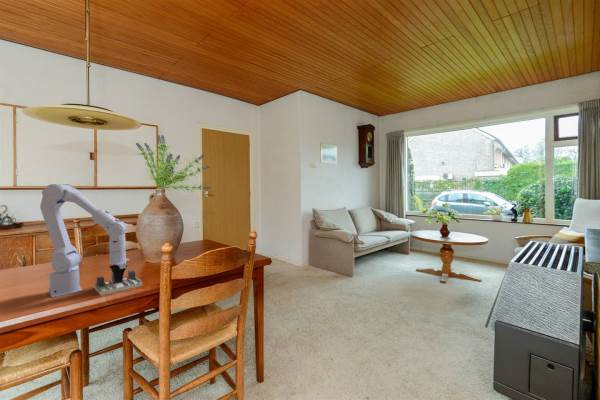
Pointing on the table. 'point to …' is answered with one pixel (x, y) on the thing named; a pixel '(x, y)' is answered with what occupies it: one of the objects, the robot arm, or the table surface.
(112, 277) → the block
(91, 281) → the table surface
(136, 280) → the panel
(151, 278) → the table surface
